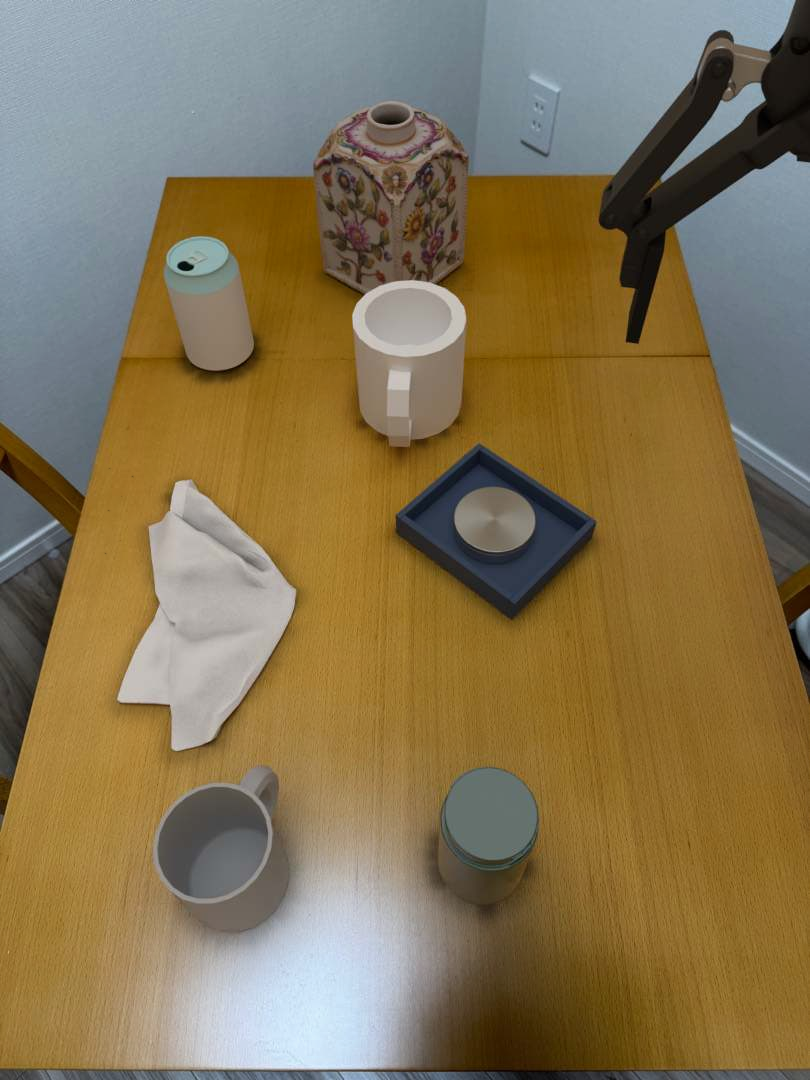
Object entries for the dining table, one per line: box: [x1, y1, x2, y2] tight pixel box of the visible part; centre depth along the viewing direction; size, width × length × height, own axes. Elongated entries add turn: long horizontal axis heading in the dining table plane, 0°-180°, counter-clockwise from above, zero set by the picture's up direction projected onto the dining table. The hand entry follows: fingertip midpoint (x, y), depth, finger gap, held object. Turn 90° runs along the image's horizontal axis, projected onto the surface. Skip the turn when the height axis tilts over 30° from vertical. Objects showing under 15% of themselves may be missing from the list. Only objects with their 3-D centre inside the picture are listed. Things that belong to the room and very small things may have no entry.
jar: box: [437, 766, 540, 906], centre depth 55 cm, size 6×6×10 cm
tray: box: [395, 442, 598, 620], centre depth 74 cm, size 13×11×3 cm
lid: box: [453, 487, 536, 564], centre depth 74 cm, size 7×7×2 cm
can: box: [163, 235, 255, 371], centre depth 85 cm, size 7×7×12 cm
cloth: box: [116, 479, 297, 753], centre depth 71 cm, size 26×14×2 cm, turn 0°
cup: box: [152, 765, 290, 933], centre depth 56 cm, size 7×10×9 cm
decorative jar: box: [312, 100, 470, 296], centre depth 90 cm, size 12×12×18 cm
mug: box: [351, 280, 467, 448], centre depth 80 cm, size 14×10×11 cm
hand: (749, 344), depth 51 cm, fingers open, 13 cm apart
